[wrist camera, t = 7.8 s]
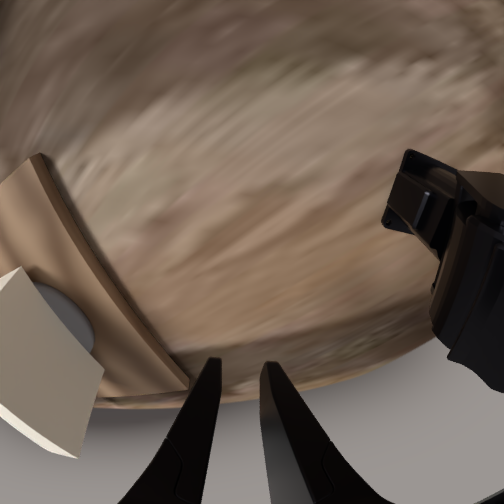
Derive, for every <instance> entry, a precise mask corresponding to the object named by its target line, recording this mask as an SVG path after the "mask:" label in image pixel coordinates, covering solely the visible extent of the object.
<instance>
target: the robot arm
mask: <svg viewBox="0 0 504 504" xmlns="http://www.w3.org/2000/svg"><path fill="white" fill-rule="evenodd" d="M411 153H412V157H411V158H410V154H411ZM387 220H389V222H388V223H386V222H387ZM381 223H382V225H383V226H384V227H385V228H387V229H392V230H396V231H400V232H405V233H409V234H413V235H416V236H417V238H418V239H419V240H420V241H421V242H422V243H423V244H424V245H425V246H426V247H427V248H428V249H429V250H430V251H431V252H432V253H433V255H434V256H435V257H436V258H437V259H438V260H439V261H440V265H439V268H438V271H437V275H436V278H435V281H434V283H433V284H432V287H431V294H432V298H431V301H430V308H429V313H430V317H431V321H432V324H433V326H432V331H433V332H434V334H435V335H436V337H437V338H438V339H439V340H440V341H441V342H442V343H443V344H444V345H445V346H446V347H447V348H449V349H450V352H449V354H448V355H447V359H448V360H450V361H453V362H456V363H460V364H462V365H464V366H466V367H467V368H469V369H471V370H472V371H473V372H475V373H476V374H477V375H478V376H479V377H480V378H481V379H482V380H483V381H484V382H485V383H486V384H487V385H488V386H489V387H490V388H491V389H493V390H496V391H498V392H501V393H504V175H503V174H501V173H490V172H477V171H459V170H457V169H455V168H453V167H451V166H448V165H446V164H444V163H442V162H440V161H438V160H436V159H433V158H431V157H429V156H427V155H424V154H422V153H420V152H417V151H415V150H413V149H407V150H406V151H405V153H404V157H403V160H402V163H401V166H400V169H399V172H398V173H397V175H396V178H395V181H394V184H393V187H392V190H391V193H390V196H389V198H388V201H387V206H386V209H385V212H384V214H383V217H382V220H381ZM221 392H222V359H221V358H220V357H209V358H208V360H207V362H206V363H205V365H204V367H203V369H202V371H201V373H200V375H199V377H198V378H197V380H196V382H195V384H194V386H193V388H192V390H191V391H190V393H189V395H188V397H187V399H186V401H185V403H184V404H183V406H182V408H181V410H180V412H179V414H178V416H177V417H176V419H175V421H174V423H173V425H172V427H171V428H170V430H169V432H168V434H167V436H166V438H165V439H164V441H163V443H162V445H161V447H160V448H159V450H158V452H157V453H156V455H155V457H154V458H153V460H152V461H151V463H150V464H149V466H148V467H147V468H146V470H145V471H144V472H143V474H142V475H141V476H140V477H139V479H138V480H137V481H136V482H135V484H134V485H133V486H132V487H131V489H130V490H129V491H128V492H127V493H126V495H125V496H124V497H123V498H122V499H121V500H120V501H119V503H118V504H201V500H202V496H203V490H204V485H205V479H206V474H207V468H208V463H209V458H210V452H211V447H212V441H213V436H214V430H215V425H216V420H217V414H218V409H219V404H220V398H221ZM260 425H261V432H262V440H263V447H264V455H265V463H266V470H267V477H268V484H269V491H270V498H271V504H395V503H392V502H390V501H387V500H386V499H384V498H383V497H381V496H380V495H379V494H377V493H376V492H375V491H374V490H373V489H372V488H371V487H370V486H369V485H368V484H367V483H366V482H365V481H364V479H363V478H362V477H361V476H360V475H359V474H358V473H357V472H356V471H355V470H354V469H353V468H352V467H351V466H350V464H349V463H348V462H347V461H346V460H345V459H344V457H343V456H342V455H341V453H340V452H339V451H338V450H337V448H336V447H335V445H334V444H333V442H332V441H330V438H329V437H328V435H327V434H326V433H325V431H324V430H323V428H322V427H321V426H320V424H319V422H318V421H317V419H316V418H315V417H314V415H313V414H312V412H311V411H310V409H309V408H308V406H307V405H306V403H305V402H304V400H303V399H302V398H301V396H300V394H299V393H298V391H297V390H296V388H295V387H294V385H293V384H292V382H291V381H290V379H289V378H288V376H287V375H286V373H285V372H284V370H283V369H282V367H281V366H280V364H279V363H278V362H277V361H266V362H265V363H264V366H263V369H262V372H261V375H260ZM474 504H504V489H502V490H500V491H498V492H496V493H495V494H493V495H491V496H489V497H487V498H485V499H483V500H481V501H479V502H477V503H474Z"/></svg>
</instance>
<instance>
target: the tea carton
mask: <svg viewBox="0 0 504 504" xmlns="http://www.w3.org/2000/svg"><path fill="white" fill-rule="evenodd" d="M94 342H95V334H94V330H93V327H92V325H91V323H90V321H89V320H88V318H87V317H86V315H85V314H84V313H83V311H82V310H81V309H80V308H79V307H78V306H77V305H76V304H75V303H74V302H73V301H72V300H71V299H70V298H68V297H67V296H66V295H65V294H63V293H62V292H60V291H59V290H57V289H55V288H53V287H51V286H49V285H46V284H43V283H39V282H32V281H31V280H30V278H29V277H28V275H27V274H26V272H25V271H24V269H23V268H22V266H21V267H19V268H17V269H15V270H13V271H12V272H10V273H8V274H6V275H4V276H3V277H1V278H0V417H2V418H3V419H4V420H5V421H7V422H8V423H9V424H10V425H12V426H13V427H14V428H16V429H17V430H18V431H20V432H21V433H22V434H24V435H25V436H27V437H28V438H29V439H31V440H32V441H34V442H35V443H37V444H38V445H40V446H41V447H43V448H44V449H46V450H48V451H50V452H53V453H57V454H61V455H65V456H68V457H73V458H77V459H79V456H80V452H81V448H82V444H83V440H84V436H85V432H86V429H87V425H88V421H89V418H90V415H91V411H92V408H93V404H94V401H95V398H96V395H97V392H98V388H99V385H100V382H101V379H102V376H103V373H104V370H105V369H104V368H103V367H102V366H101V365H100V364H99V363H98V362H97V361H96V360H95V359H94V358H93V357H92V356H91V355H90V352H91V350H92V348H93V345H94Z"/></svg>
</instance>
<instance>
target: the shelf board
mask: <svg viewBox="0 0 504 504" xmlns="http://www.w3.org/2000/svg"><path fill="white" fill-rule="evenodd" d="M21 266H22V268H23V269H24V271H25V272H26V274H27V275H28V277H29V278H30V280H31V281H32V282H39V283H43V284H46V285H49V286H51V287H53V288H55V289H57V290H59V291H60V292H62V293H63V294H65V295H66V296H67V297H68V298H70V299H71V300H72V301H73V302H74V303H75V304H76V305H77V306H78V307H79V308H80V309H81V310H82V311H83V313H84V314H85V315H86V317H87V318H88V320H89V321H90V323H91V325H92V327H93V330H94V334H95V342H94V345H93V348H92V350H91V352H90V355H91V356H92V357H93V358H94V359H95V360H96V361H97V362H98V363H99V364H100V365H101V366H102V367H103V368H104V369H105V370H104V373H103V376H102V379H101V382H100V385H99V388H98V392H97V395H96V397H118V396H134V395H146V394H156V393H165V392H174V391H182V390H188V389H189V380H190V379H189V378H188V377H187V376H186V375H185V373H184V372H183V371H182V370H181V369H180V368H179V367H178V366H177V364H176V363H175V362H174V361H173V360H172V359H171V357H170V356H169V355H168V354H167V353H166V352H165V350H164V349H163V348H162V347H161V346H160V344H159V343H158V342H157V341H156V340H155V338H154V337H153V336H152V335H151V333H150V332H149V331H148V330H147V328H146V327H145V326H144V324H143V323H142V322H141V321H140V319H139V318H138V317H137V315H136V314H135V313H134V311H133V310H132V309H131V307H130V306H129V305H128V303H127V302H126V300H125V299H124V298H123V296H122V295H121V293H120V292H119V291H118V289H117V288H116V286H115V285H114V283H113V282H112V280H111V279H110V278H109V276H108V275H107V273H106V272H105V270H104V269H103V267H102V266H101V264H100V262H99V261H98V259H97V258H96V256H95V255H94V253H93V251H92V250H91V248H90V247H89V245H88V243H87V242H86V240H85V238H84V237H83V235H82V233H81V232H80V230H79V228H78V226H77V225H76V223H75V221H74V219H73V218H72V216H71V214H70V212H69V210H68V209H67V207H66V205H65V203H64V201H63V199H62V197H61V195H60V194H59V192H58V190H57V188H56V186H55V184H54V182H53V180H52V178H51V176H50V173H49V171H48V169H47V167H46V165H45V163H44V161H43V158H42V156H41V154H40V153H38V154H36V155H34V156H32V157H30V158H28V159H27V160H26V161H25V162H24V163H23V164H21V165H20V166H19V167H18V168H17V169H16V170H15V171H14V172H13V173H12V174H10V175H9V176H8V177H7V178H6V179H5V180H4V181H3V182H2V183H1V184H0V278H1V277H3V276H4V275H6V274H8V273H10V272H12V271H13V270H15V269H17V268H19V267H21Z"/></svg>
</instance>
